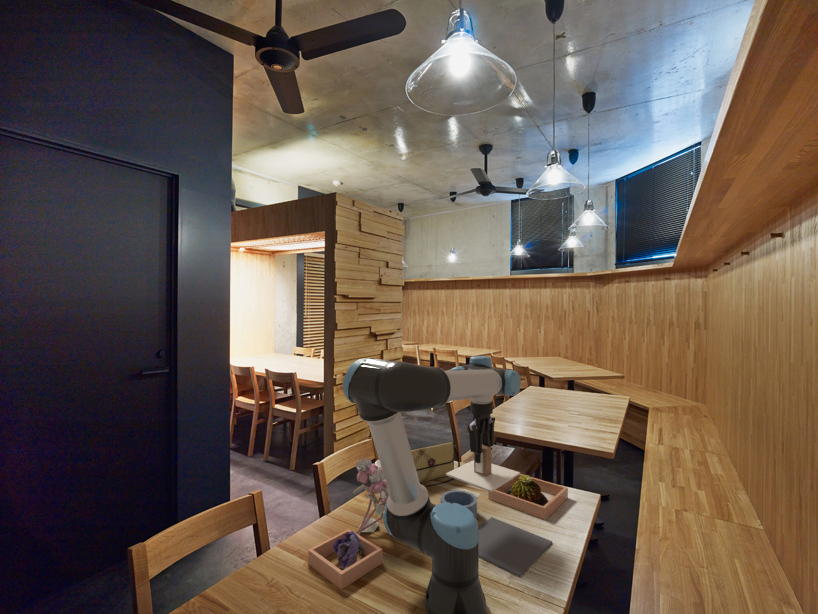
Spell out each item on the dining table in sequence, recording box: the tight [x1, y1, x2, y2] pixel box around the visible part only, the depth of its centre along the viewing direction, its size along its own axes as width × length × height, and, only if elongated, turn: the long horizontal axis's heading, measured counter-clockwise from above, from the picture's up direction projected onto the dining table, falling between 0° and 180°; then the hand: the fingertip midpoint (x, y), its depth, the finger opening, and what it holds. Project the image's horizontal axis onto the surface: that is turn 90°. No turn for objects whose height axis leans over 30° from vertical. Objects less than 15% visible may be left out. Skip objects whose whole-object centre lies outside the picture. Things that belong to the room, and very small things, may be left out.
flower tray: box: [307, 528, 383, 590], centre depth 113 cm, size 15×16×4 cm
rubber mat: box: [478, 516, 553, 578], centre depth 122 cm, size 22×22×1 cm
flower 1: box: [333, 530, 364, 570], centre depth 114 cm, size 9×9×10 cm
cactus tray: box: [487, 473, 569, 520], centre depth 152 cm, size 22×23×4 cm
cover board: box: [445, 444, 521, 492], centre depth 131 cm, size 18×18×10 cm
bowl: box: [440, 489, 478, 520], centre depth 140 cm, size 13×13×6 cm
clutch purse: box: [411, 441, 461, 488], centre depth 168 cm, size 30×7×15 cm, turn 119°
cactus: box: [505, 474, 549, 506], centre depth 151 cm, size 17×16×10 cm
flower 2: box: [352, 456, 390, 535], centre depth 129 cm, size 20×22×25 cm
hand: (482, 470), depth 131 cm, fingers closed on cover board, 3 cm apart
